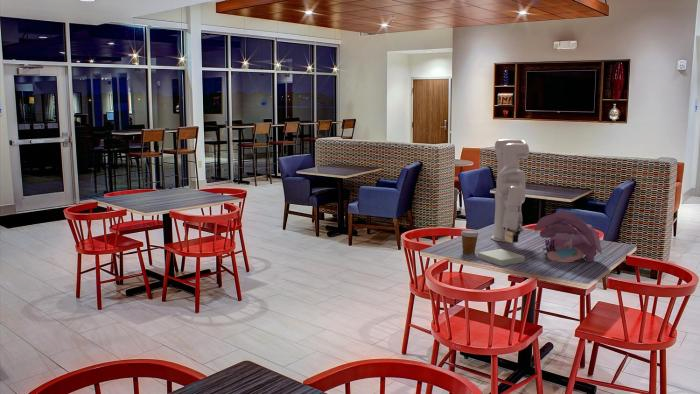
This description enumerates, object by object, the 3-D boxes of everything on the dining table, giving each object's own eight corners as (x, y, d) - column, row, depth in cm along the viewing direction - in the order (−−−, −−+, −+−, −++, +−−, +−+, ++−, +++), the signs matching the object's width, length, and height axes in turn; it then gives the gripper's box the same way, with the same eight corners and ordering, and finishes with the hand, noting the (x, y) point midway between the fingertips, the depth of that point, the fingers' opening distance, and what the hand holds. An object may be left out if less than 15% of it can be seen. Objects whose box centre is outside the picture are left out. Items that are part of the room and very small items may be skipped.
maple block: (511, 239, 344) (511, 229, 343) (518, 242, 340) (518, 231, 339) (504, 241, 341) (505, 230, 340) (511, 243, 337) (512, 232, 336)
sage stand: (500, 254, 339) (500, 248, 338) (524, 261, 325) (524, 256, 324) (477, 258, 330) (477, 252, 329) (501, 266, 316) (501, 260, 315)
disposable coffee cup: (464, 255, 334) (465, 233, 332) (456, 250, 343) (458, 229, 341) (480, 254, 337) (481, 233, 335) (472, 250, 346) (473, 229, 344)
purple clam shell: (531, 266, 335) (527, 217, 327) (541, 248, 354) (537, 202, 346) (600, 270, 318) (598, 218, 309) (606, 252, 337) (604, 202, 329)
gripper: (497, 205, 342) (495, 237, 346) (521, 212, 328) (518, 245, 332) (507, 204, 346) (504, 236, 350) (531, 210, 332) (528, 243, 336)
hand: (511, 240), depth 341 cm, fingers closed on maple block, 4 cm apart
